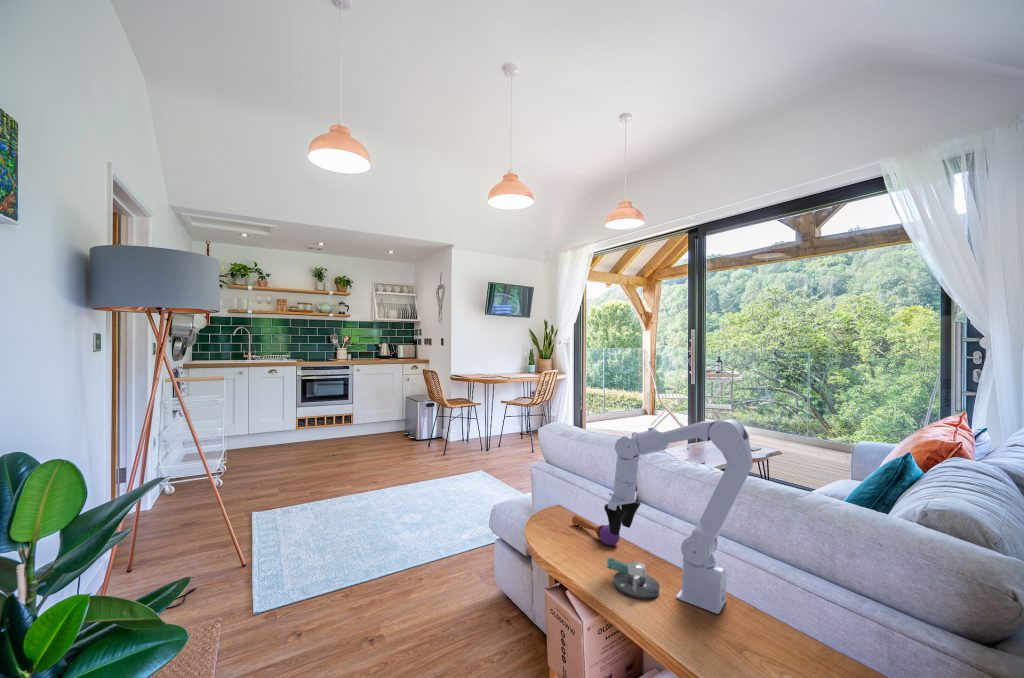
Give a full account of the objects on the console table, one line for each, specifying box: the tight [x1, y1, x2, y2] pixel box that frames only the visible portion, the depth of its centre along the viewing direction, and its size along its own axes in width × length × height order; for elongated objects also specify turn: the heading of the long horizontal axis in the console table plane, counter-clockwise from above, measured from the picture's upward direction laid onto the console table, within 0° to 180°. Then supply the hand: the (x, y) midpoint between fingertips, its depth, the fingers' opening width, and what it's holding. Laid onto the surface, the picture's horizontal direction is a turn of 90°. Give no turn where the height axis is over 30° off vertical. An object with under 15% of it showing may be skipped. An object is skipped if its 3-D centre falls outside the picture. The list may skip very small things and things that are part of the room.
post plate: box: [613, 571, 661, 601], centre depth 106 cm, size 11×11×4 cm
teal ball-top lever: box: [606, 557, 647, 585], centre depth 108 cm, size 10×4×4 cm, turn 51°
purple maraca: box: [571, 514, 621, 547], centre depth 138 cm, size 6×6×20 cm
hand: (620, 530), depth 115 cm, fingers open, 7 cm apart
